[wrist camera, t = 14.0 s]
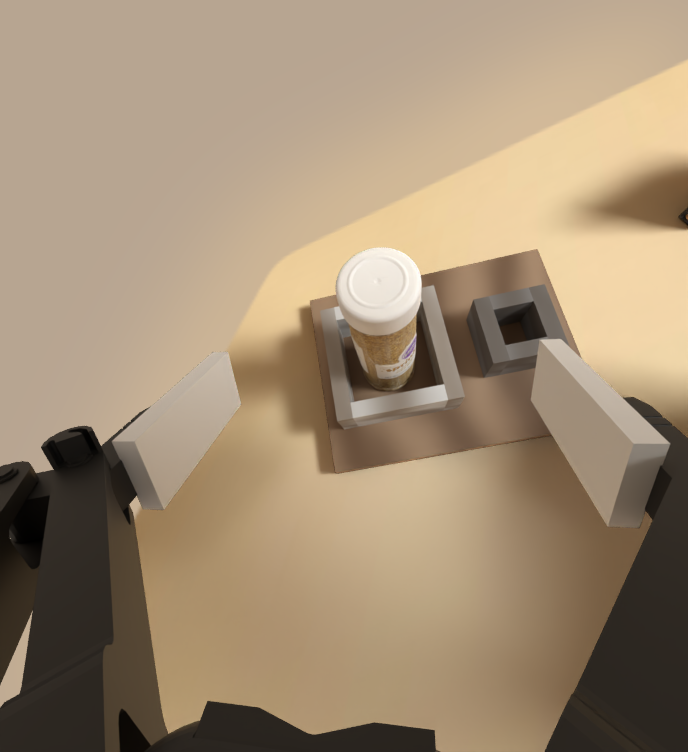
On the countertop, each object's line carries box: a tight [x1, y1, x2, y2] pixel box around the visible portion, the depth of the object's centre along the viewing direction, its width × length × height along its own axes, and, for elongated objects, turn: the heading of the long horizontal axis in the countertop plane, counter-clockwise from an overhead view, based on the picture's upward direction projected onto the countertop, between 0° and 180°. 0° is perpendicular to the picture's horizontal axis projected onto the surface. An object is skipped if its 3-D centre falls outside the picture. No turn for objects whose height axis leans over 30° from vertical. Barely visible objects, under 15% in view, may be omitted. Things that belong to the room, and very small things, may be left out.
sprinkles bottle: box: [336, 247, 422, 391], centre depth 25 cm, size 5×5×14 cm
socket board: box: [310, 249, 582, 474], centre depth 30 cm, size 21×16×5 cm
